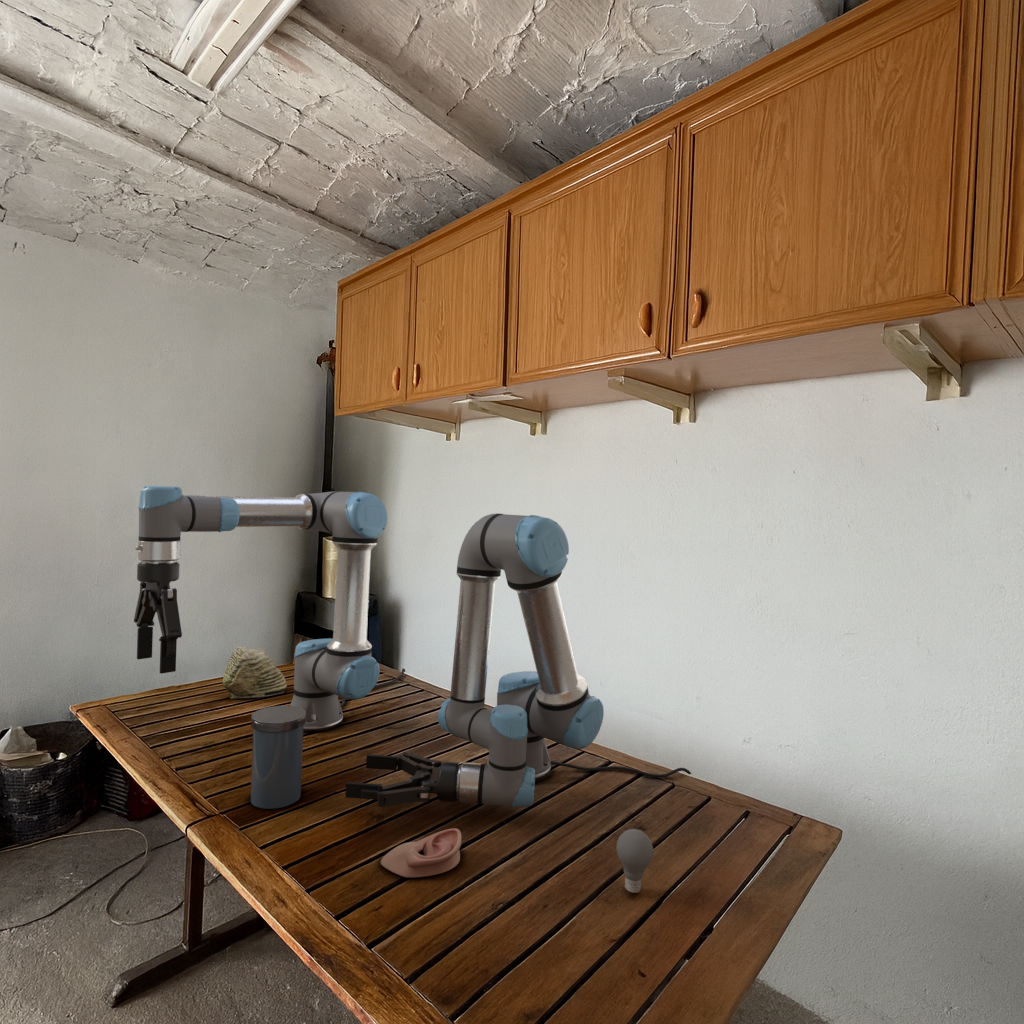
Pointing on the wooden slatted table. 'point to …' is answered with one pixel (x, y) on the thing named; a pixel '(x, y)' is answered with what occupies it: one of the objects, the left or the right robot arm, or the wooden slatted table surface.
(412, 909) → the wooden slatted table surface
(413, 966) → the wooden slatted table surface
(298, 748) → the jar
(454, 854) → the anatomical model
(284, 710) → the lid
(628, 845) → the light bulb
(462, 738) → the right robot arm
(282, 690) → the fossil
